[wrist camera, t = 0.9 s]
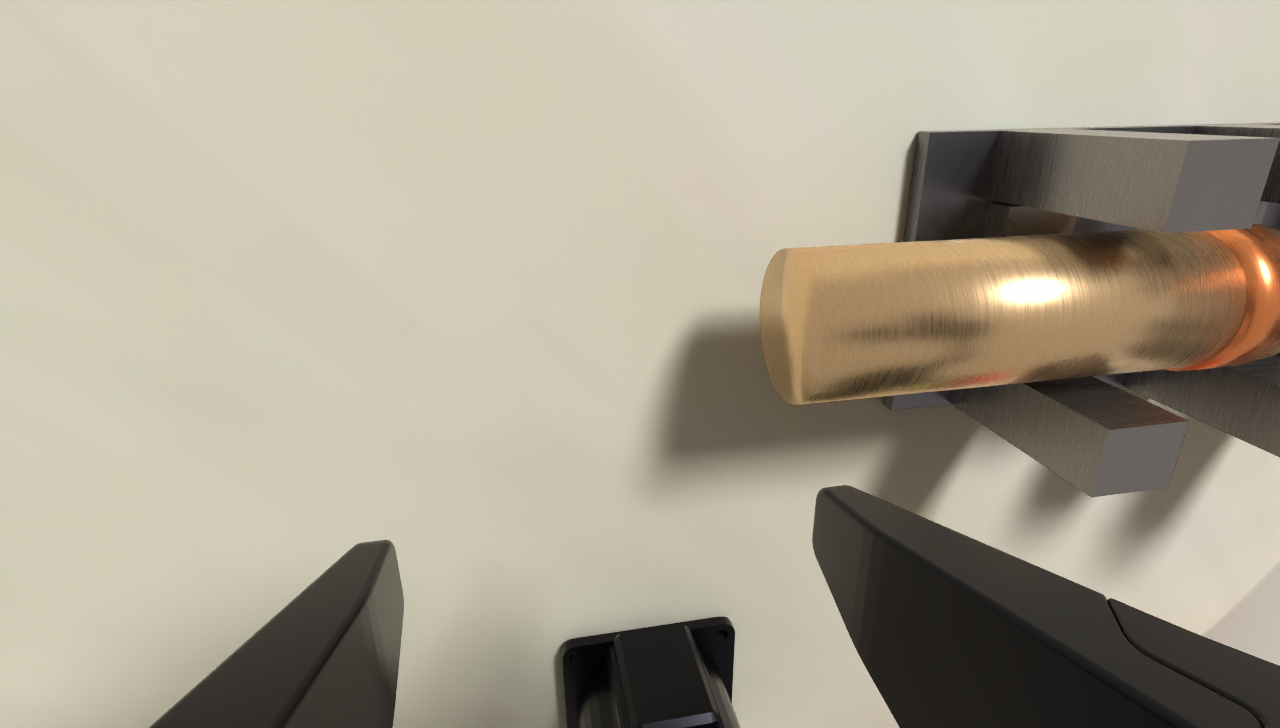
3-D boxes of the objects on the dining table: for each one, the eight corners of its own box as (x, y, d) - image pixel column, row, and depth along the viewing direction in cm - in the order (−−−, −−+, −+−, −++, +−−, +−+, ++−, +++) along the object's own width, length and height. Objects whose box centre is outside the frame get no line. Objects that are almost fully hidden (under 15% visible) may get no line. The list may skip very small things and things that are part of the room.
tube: (1155, 337, 22) (1292, 386, 18) (755, 372, 20) (815, 437, 16) (1192, 210, 21) (1350, 234, 17) (762, 231, 18) (831, 264, 14)
